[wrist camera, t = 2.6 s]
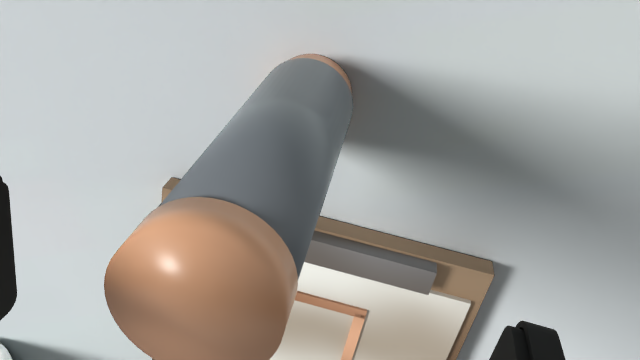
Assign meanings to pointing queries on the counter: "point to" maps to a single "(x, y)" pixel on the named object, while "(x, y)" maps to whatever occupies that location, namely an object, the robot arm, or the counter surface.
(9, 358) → the mug
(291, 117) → the cylinder
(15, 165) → the counter surface
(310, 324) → the cream tray
